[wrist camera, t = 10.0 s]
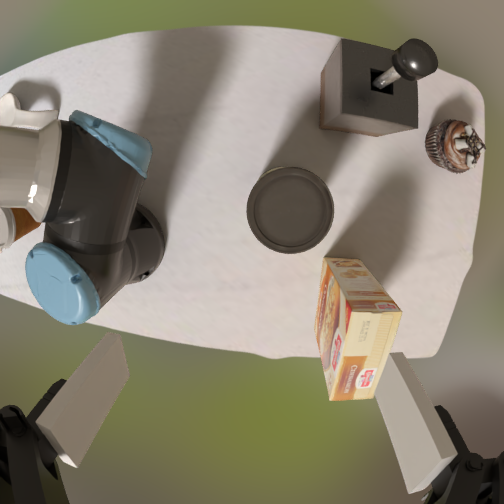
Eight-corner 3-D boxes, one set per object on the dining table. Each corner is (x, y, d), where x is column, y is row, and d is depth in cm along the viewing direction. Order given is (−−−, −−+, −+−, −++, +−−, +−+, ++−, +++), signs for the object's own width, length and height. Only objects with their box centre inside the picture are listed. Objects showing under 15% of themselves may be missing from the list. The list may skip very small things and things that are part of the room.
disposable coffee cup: (28, 238, 51) (-7, 254, 40) (18, 200, 49) (-18, 210, 37) (51, 229, 50) (14, 245, 39) (41, 187, 48) (3, 196, 36)
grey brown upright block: (319, 128, 42) (341, 112, 28) (320, 73, 40) (341, 38, 25) (376, 136, 42) (418, 128, 28) (376, 83, 39) (415, 57, 25)
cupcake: (433, 111, 39) (463, 103, 30) (466, 143, 40) (498, 143, 31) (413, 150, 42) (443, 149, 33) (447, 182, 43) (479, 188, 34)
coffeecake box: (322, 256, 49) (351, 310, 30) (360, 258, 49) (405, 310, 30) (312, 330, 53) (327, 402, 35) (347, 330, 53) (374, 399, 34)
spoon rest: (-3, 139, 45) (-23, 140, 38) (7, 94, 41) (-13, 92, 34) (52, 147, 45) (30, 147, 38) (65, 92, 42) (43, 87, 35)
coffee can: (272, 239, 48) (273, 268, 35) (241, 185, 46) (230, 194, 33) (326, 210, 46) (348, 229, 33) (296, 155, 44) (308, 151, 31)
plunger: (334, 116, 37) (388, 80, 18) (335, 74, 35) (383, 14, 16) (378, 123, 37) (454, 100, 18) (378, 82, 35) (447, 37, 16)
